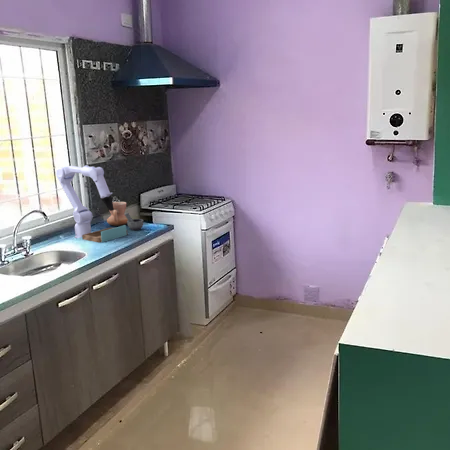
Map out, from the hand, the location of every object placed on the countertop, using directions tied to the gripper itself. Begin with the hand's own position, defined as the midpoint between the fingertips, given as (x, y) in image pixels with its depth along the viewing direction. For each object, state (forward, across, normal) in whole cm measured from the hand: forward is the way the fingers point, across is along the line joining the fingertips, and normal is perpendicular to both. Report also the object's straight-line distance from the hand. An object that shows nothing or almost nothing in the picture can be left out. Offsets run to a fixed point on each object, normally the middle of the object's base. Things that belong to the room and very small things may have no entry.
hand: (111, 210), depth 300 cm
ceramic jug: (+6, +47, +2) cm, 47 cm away
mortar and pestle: (+15, +25, -7) cm, 30 cm away
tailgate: (+15, +5, +5) cm, 17 cm away
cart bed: (+14, +11, +10) cm, 20 cm away
